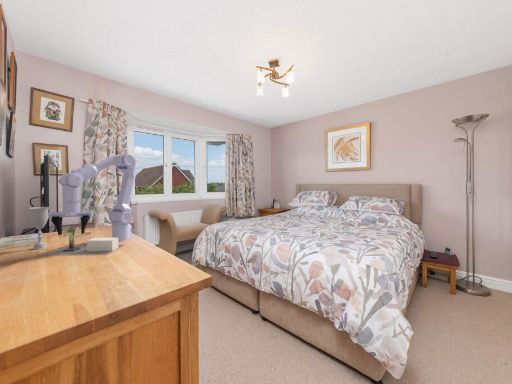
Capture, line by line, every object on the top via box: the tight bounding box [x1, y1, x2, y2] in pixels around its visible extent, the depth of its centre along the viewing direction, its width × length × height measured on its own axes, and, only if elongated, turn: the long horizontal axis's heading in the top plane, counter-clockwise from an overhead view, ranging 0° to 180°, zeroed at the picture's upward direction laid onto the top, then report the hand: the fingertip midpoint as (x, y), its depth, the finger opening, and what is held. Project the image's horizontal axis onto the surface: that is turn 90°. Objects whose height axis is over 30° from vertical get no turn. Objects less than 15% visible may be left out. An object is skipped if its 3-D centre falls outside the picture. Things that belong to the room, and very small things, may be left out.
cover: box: [86, 237, 119, 252], centre depth 98 cm, size 5×10×4 cm, turn 95°
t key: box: [62, 226, 92, 249], centre depth 99 cm, size 2×12×8 cm, turn 175°
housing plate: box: [41, 244, 125, 257], centre depth 97 cm, size 15×24×2 cm, turn 95°
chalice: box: [28, 206, 50, 251], centre depth 102 cm, size 7×7×18 cm
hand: (71, 233), depth 96 cm, fingers open, 7 cm apart
